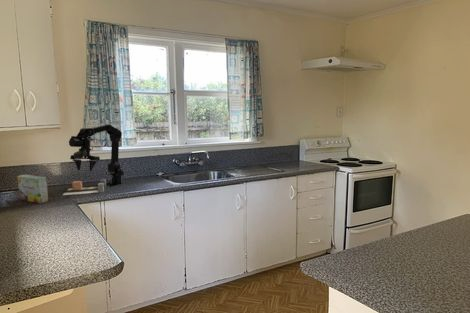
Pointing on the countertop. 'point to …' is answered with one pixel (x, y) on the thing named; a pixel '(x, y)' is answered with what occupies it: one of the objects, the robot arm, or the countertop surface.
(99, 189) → the white long bar
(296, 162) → the countertop surface
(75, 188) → the terracotta block
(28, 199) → the snack box
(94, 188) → the beige rectangular bar
